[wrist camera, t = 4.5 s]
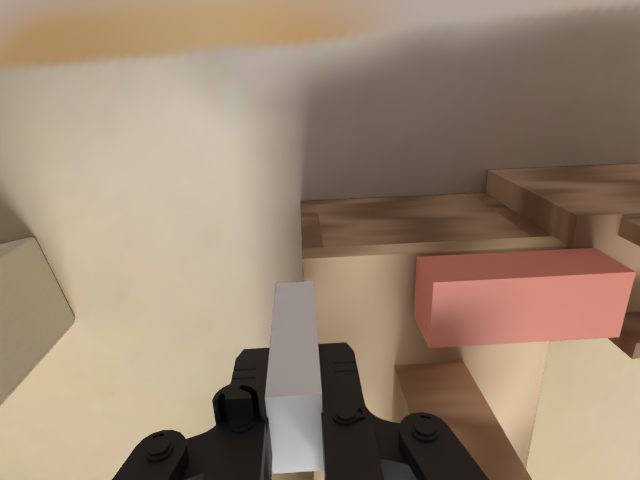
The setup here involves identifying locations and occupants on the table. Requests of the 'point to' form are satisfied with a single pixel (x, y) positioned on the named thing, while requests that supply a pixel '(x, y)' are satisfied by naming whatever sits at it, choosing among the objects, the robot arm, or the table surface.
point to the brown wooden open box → (504, 218)
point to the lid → (429, 349)
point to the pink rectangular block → (520, 297)
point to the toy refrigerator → (27, 311)
